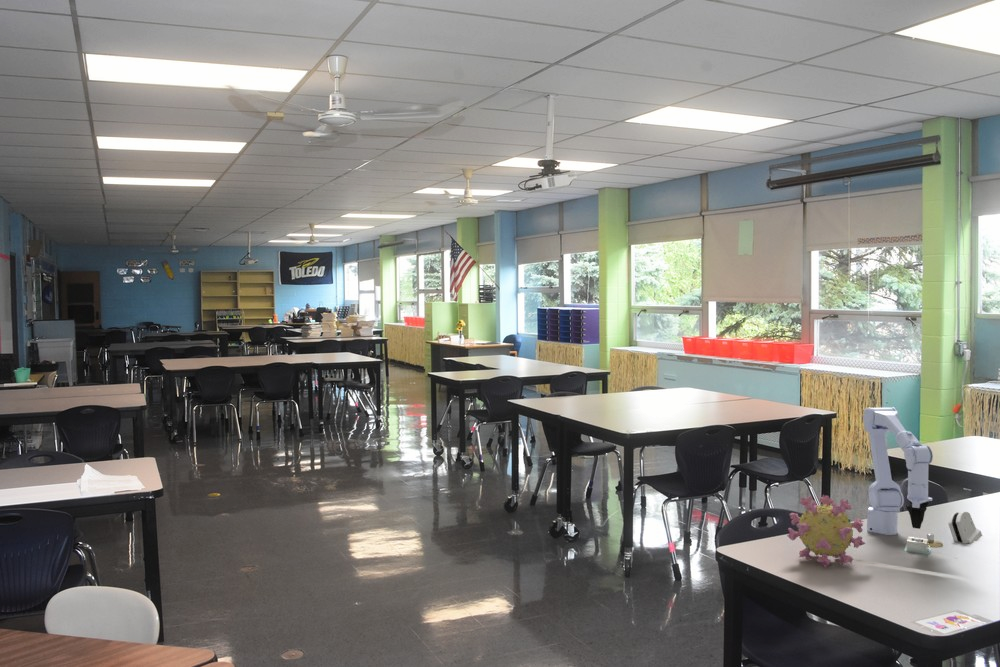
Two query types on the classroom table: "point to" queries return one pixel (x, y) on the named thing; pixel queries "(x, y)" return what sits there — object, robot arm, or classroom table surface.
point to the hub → (933, 541)
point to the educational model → (825, 530)
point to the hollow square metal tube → (917, 545)
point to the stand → (917, 541)
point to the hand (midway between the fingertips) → (917, 525)
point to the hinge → (963, 528)
